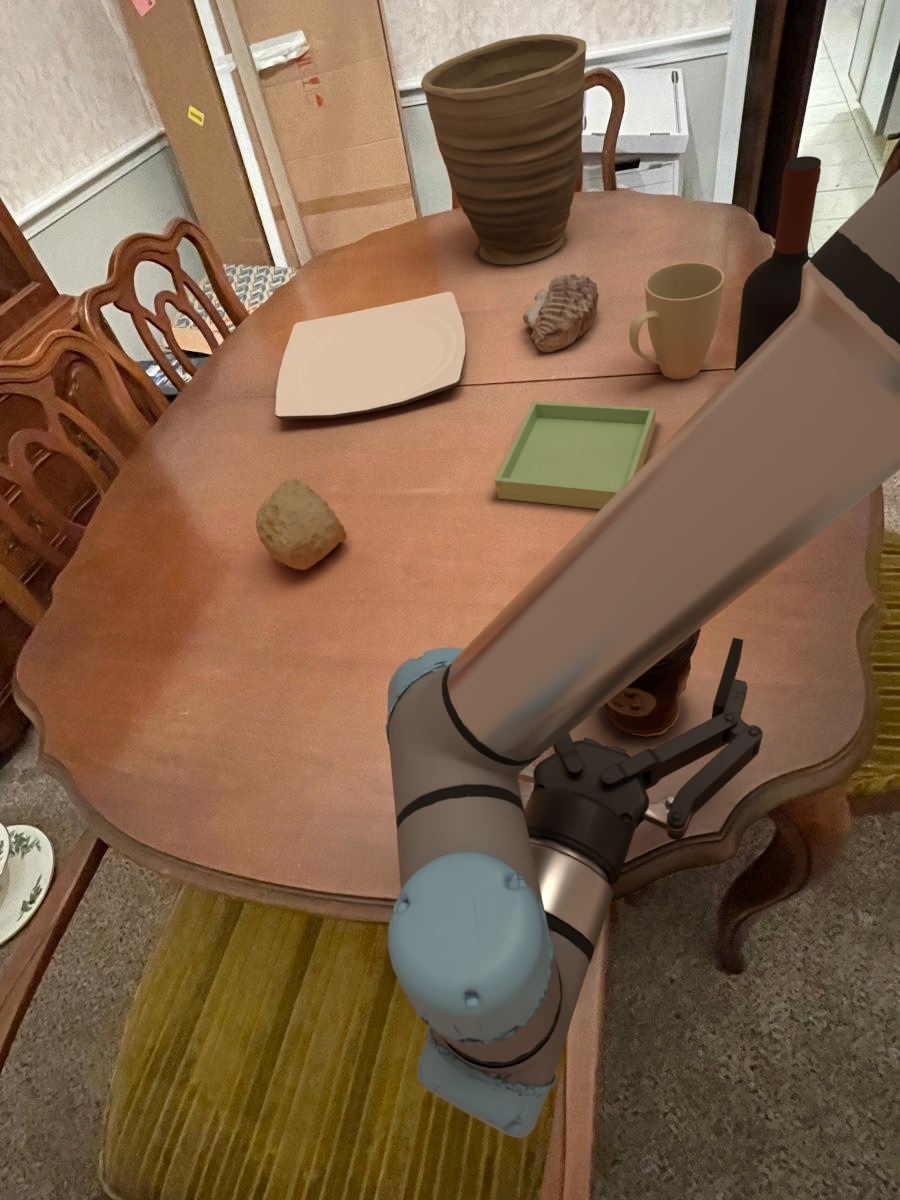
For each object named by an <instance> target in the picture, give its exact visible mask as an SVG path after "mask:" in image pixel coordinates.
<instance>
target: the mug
mask: <svg viewBox="0 0 900 1200" xmlns="http://www.w3.org/2000/svg"><path fill="white" fill-rule="evenodd" d="M724 285H725V274H724V272H723V271H722V270H721V269H720V268H719V267H717V266H715V265H713V264H710V263H706V262H701V261H682V262H676V263H671V264H668V265H665V266H662V267H660V268H658V269H656V270H654V271H653V272H651V273H650V274H649V276H648V277H647V278H646V280H645V283H644V293H645V303H646V304H645V306H646V307H645V308H646V311H643V312H640V313H638V314H636V316H634V318H633V319H632V321H631V324H630V327H629V337H628V338H629V344H630V347H631V349H632V351H633V352H634V353H635V354H636V355H637V356H638V357H640V358H642V359H644V360H645V361H647V362H650V363H652V364H656V365H659V368H660V371H661V374H662V375H663V376H664V377H666V378H668V379H671V380H686V379H690V378H693V377H695V376H696V375H697V374H699V372H700V370H701V369H702V366H703V363H704V362H705V359H706V357H707V354H708V352H709V349H710V347H711V345H712V342H713V340H714V337H715V334H716V331H717V327H718V323H719V317H720V310H721V303H722V298H723V291H724ZM646 321H647V329H648V335H649V340H650V342H651V343H650V344H651V346H652V349H653V352H654V354H655V357H656V358H655V357H651V356H649V355H648V354H645V353H644V352H642V350H641V349H640V345H639V337H640V336H639V335H640V331H641V328H642V326H643V324H644V323H645V322H646Z"/></svg>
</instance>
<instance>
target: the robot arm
mask: <svg viewBox="0 0 900 1200" xmlns="http://www.w3.org/2000/svg"><path fill="white" fill-rule="evenodd" d="M810 257H811V258H810V259H809V260H808V262H807V263H806V264H805V265H804V266H803V271H802V284H801V296H800V301H799V304H798V306H797V309H796V310H795V311H794V312H793V313H792V314H791V315H790V316H789V318H788V319H787V320H786V321H785V322H784V323H783V324H782V325H781V326H780V327H779V328H778V329H777V330H776V331H775V332H774V333H773V334H772V335H771V336H770V337H769V338H768V339H767V340H766V341H765V342H764V343H763V344H762V345H761V346H760V347H759V348H758V349H757V350H756V351H755V352H754V353H753V354H752V355H751V356H750V357H749V358H748V359H747V360H746V361H745V363H744V364H743V365H742V366H741V367H740V368H739V369H738V370H737V371H736V372H735V371H734V373H732V374H731V376H730V377H728V379H726V381H725V382H724V383H722V385H721V386H720V387H719V388H718V389H717V390H716V391H715V392H714V393H713V394H712V395H711V396H710V397H709V398H708V399H707V400H706V401H705V402H704V403H702V406H700V407H699V408H698V410H696V411H695V412H694V414H692V415H691V416H690V417H689V418H688V420H687V421H685V423H684V424H682V425H681V427H680V428H679V429H678V430H677V431H676V432H675V433H674V434H673V435H672V436H671V437H670V438H669V439H668V440H667V441H666V442H665V443H664V444H663V445H662V446H661V447H660V448H659V449H658V450H657V452H655V453H654V455H653V456H651V457H650V459H648V460H647V461H646V463H644V464H643V467H642V468H641V469H640V470H639V471H638V472H637V473H636V474H635V475H634V476H633V477H632V478H631V479H630V480H629V481H628V482H627V483H626V484H625V485H624V486H623V487H622V488H621V489H620V490H619V491H618V492H617V493H616V494H615V495H614V496H613V498H612V499H611V500H610V501H609V502H608V503H607V504H606V505H605V506H604V507H603V508H602V509H599V510H598V512H597V513H596V514H595V515H593V517H592V518H591V519H590V520H589V521H588V522H587V523H586V524H585V525H584V526H583V527H582V528H581V529H580V530H579V531H578V532H577V533H576V534H575V535H574V536H573V537H572V538H571V539H570V540H569V541H568V542H567V543H566V545H564V546H563V547H562V549H561V550H560V551H558V553H557V554H556V555H555V556H554V557H553V558H552V559H551V560H549V561H548V563H547V564H546V565H545V566H544V567H543V568H542V569H541V570H540V571H539V572H538V573H537V574H536V575H535V576H534V577H533V578H532V579H531V580H530V581H529V582H528V583H527V584H526V585H525V586H524V587H523V588H522V589H521V591H519V593H517V595H516V596H515V597H513V599H511V601H510V602H509V603H507V605H506V606H504V608H503V609H502V610H500V612H499V613H498V614H497V615H496V616H495V617H494V618H493V619H492V620H491V621H490V622H489V623H488V624H487V625H486V626H485V627H484V628H483V629H482V630H481V631H480V632H479V633H478V634H477V635H476V636H475V637H474V639H473V640H472V641H471V642H470V643H468V645H467V646H465V648H461V647H451V646H449V647H438V648H432V649H428V650H425V651H424V653H423V655H422V656H420V657H417V658H408V659H407V660H405V661H404V662H403V663H402V664H401V665H399V666H398V667H397V669H396V670H395V671H394V673H393V675H392V676H391V678H390V681H389V683H388V688H387V714H386V718H387V719H386V724H385V732H386V733H385V735H386V740H387V743H388V747H389V757H390V769H391V770H390V771H391V779H392V791H393V801H394V802H393V803H394V812H395V813H394V814H395V823H396V824H395V825H396V841H397V844H396V845H397V854H398V855H397V857H398V868H399V869H398V871H399V884H400V892H399V895H398V897H397V899H396V901H395V902H394V905H393V908H392V912H391V914H390V916H389V921H388V931H387V948H388V955H389V958H390V963H391V966H392V969H393V972H394V974H395V977H396V978H397V980H398V983H399V986H400V988H401V990H402V991H403V992H404V993H405V994H406V999H407V1000H406V1001H407V1003H408V1004H409V1005H410V1006H411V1007H412V1008H414V1010H415V1012H416V1014H417V1016H418V1017H419V1018H420V1019H421V1020H422V1022H423V1023H424V1024H426V1025H427V1026H428V1028H427V1029H426V1036H425V1041H424V1045H423V1047H422V1050H421V1052H420V1053H421V1054H420V1057H419V1060H418V1063H417V1067H416V1068H417V1069H416V1073H417V1078H418V1081H419V1083H420V1084H421V1085H422V1086H423V1087H424V1088H425V1089H426V1090H427V1091H429V1092H430V1093H432V1094H433V1095H434V1096H436V1097H438V1098H440V1099H441V1100H443V1101H444V1102H446V1103H448V1104H450V1105H452V1106H453V1107H455V1108H456V1109H458V1110H459V1111H462V1112H463V1113H465V1114H466V1115H469V1116H470V1117H472V1118H475V1119H476V1120H478V1121H480V1122H482V1123H483V1124H486V1125H487V1126H489V1127H491V1128H493V1129H495V1130H496V1131H499V1132H500V1133H503V1134H504V1135H507V1136H509V1137H513V1138H516V1139H517V1138H518V1139H521V1138H524V1137H527V1136H528V1135H529V1134H531V1133H532V1132H533V1130H534V1129H535V1128H536V1125H537V1123H538V1120H539V1118H540V1115H541V1112H542V1109H543V1107H544V1104H545V1101H546V1099H547V1097H548V1094H549V1092H550V1091H551V1090H552V1089H554V1086H555V1082H556V1079H557V1076H556V1071H557V1067H558V1064H559V1061H560V1058H561V1055H562V1051H563V1048H564V1046H565V1043H566V1039H567V1036H568V1033H569V1029H570V1026H571V1023H572V1020H573V1017H574V1013H575V1010H576V1008H577V1004H578V1001H579V998H580V995H581V991H582V988H583V986H584V981H585V978H586V976H587V972H588V970H589V965H590V964H591V962H592V959H593V956H594V953H595V950H596V947H597V944H598V941H599V938H600V936H601V933H602V930H603V926H604V923H605V921H606V918H607V915H608V912H609V909H610V906H611V903H612V900H613V896H614V891H613V889H612V886H613V885H615V884H617V883H618V882H619V880H620V877H621V874H622V870H623V868H624V865H625V863H626V862H625V861H626V859H627V857H628V852H629V850H630V846H631V844H632V840H633V838H634V835H635V832H636V830H637V829H638V827H639V826H640V825H641V824H642V823H644V822H645V821H646V822H648V823H651V824H653V825H655V826H657V827H659V828H662V829H664V830H666V834H667V836H668V838H669V839H671V840H673V841H680V840H681V839H683V838H684V837H685V835H686V832H687V830H688V828H689V825H690V823H691V821H692V819H693V816H695V814H697V812H698V811H699V810H700V809H702V808H703V806H705V805H706V804H707V803H708V802H709V801H710V800H711V799H712V798H713V797H714V796H715V795H716V794H717V793H718V792H719V791H721V790H722V789H723V788H724V787H725V786H726V785H727V784H728V783H729V782H730V781H731V780H732V779H733V778H734V777H735V776H736V775H738V774H739V773H740V772H741V771H742V770H743V769H744V768H745V767H746V766H747V765H748V764H749V763H750V762H751V761H752V760H753V759H755V757H757V756H758V755H759V753H760V749H761V744H762V740H763V734H764V731H763V730H762V729H761V728H760V726H758V725H755V724H750V725H749V724H747V723H746V722H745V721H743V719H742V713H743V709H744V705H745V702H746V699H747V693H748V685H747V682H746V681H745V680H740V679H736V676H737V673H738V669H739V666H740V663H741V657H742V651H743V644H744V639H743V638H737V637H732V641H731V644H730V647H729V651H728V654H727V657H726V660H725V664H724V668H723V670H722V674H721V677H720V681H719V684H718V687H717V691H716V694H715V697H714V701H713V704H712V710H711V711H712V713H711V718H710V719H708V720H706V721H704V722H702V723H700V724H698V725H696V726H695V727H692V728H691V729H689V730H687V731H685V732H683V733H681V734H679V735H677V736H675V737H673V738H672V739H669V740H668V741H666V742H664V743H662V744H660V745H658V746H656V747H654V748H652V749H651V748H646V749H644V750H642V751H640V752H638V753H636V754H634V755H632V756H631V755H630V754H628V753H627V751H626V749H625V748H621V747H619V746H612V745H604V744H602V743H600V742H598V741H597V740H595V739H593V738H592V739H591V738H589V737H584V738H583V739H579V740H575V741H574V740H573V739H572V736H571V733H570V732H571V731H573V730H574V729H575V728H576V727H578V726H579V725H581V724H582V723H583V722H584V721H585V720H587V719H588V718H589V717H590V716H592V715H593V714H594V713H595V712H597V711H598V710H599V709H600V708H602V707H603V706H605V703H607V702H608V701H609V700H610V699H612V698H613V697H614V696H615V695H617V694H618V693H619V692H620V691H622V690H623V689H624V688H626V687H627V686H628V685H629V684H631V683H632V682H633V681H634V680H636V679H637V678H638V677H639V676H641V675H642V674H643V673H644V672H646V671H647V670H648V669H649V668H651V667H652V666H653V665H654V664H656V663H657V662H658V661H660V660H661V659H662V658H663V657H665V656H666V655H667V654H668V653H670V652H671V651H672V650H673V649H675V648H676V647H677V646H678V645H680V644H681V643H682V642H683V641H685V640H686V639H687V638H688V637H690V636H691V635H692V634H694V633H695V632H696V631H697V630H699V629H700V628H701V629H702V627H704V626H705V625H706V624H707V623H709V622H710V621H711V620H712V619H714V618H715V617H716V616H717V615H719V614H720V613H721V612H723V611H724V610H725V609H727V608H728V607H729V606H730V605H731V604H733V603H734V602H735V601H736V600H738V599H739V598H740V597H741V596H743V595H744V594H746V592H748V591H749V590H750V589H752V588H754V586H755V585H757V584H758V583H759V582H760V581H762V580H763V579H764V578H766V577H767V576H768V575H769V574H771V572H773V571H774V570H776V569H777V568H778V567H780V565H782V564H783V563H784V562H785V561H787V560H788V559H789V558H791V557H792V556H793V555H794V554H796V553H797V552H798V551H799V550H801V549H802V548H803V547H805V546H806V545H807V544H808V543H809V542H811V541H812V540H813V539H814V538H815V537H817V536H818V535H820V534H821V533H822V532H823V531H824V530H826V529H827V528H829V526H831V525H832V524H833V523H835V522H836V521H837V520H839V518H841V517H843V515H845V514H846V513H848V511H850V510H851V509H852V508H854V507H855V506H856V505H857V504H859V503H860V502H861V501H862V500H863V499H865V498H866V497H868V496H869V495H870V494H872V492H874V491H875V490H876V489H877V488H879V486H881V485H883V484H884V483H885V482H886V481H887V480H889V479H890V478H891V477H893V476H894V475H895V474H896V473H898V472H899V471H900V168H899V169H898V170H897V171H896V172H895V173H894V174H893V175H892V176H891V177H889V179H888V180H887V181H886V182H884V183H883V184H882V185H881V186H880V187H879V188H878V189H877V190H876V191H875V192H874V193H873V194H872V195H871V196H870V197H869V198H868V199H867V200H866V201H865V202H864V203H863V204H862V205H861V206H860V207H859V208H858V209H857V210H856V211H855V212H854V213H853V214H852V215H851V216H850V217H848V219H847V220H846V221H845V222H843V224H842V225H840V226H839V227H838V228H837V230H835V232H834V233H833V234H832V235H831V236H830V237H829V238H828V239H827V240H826V241H825V242H824V243H823V244H822V246H820V248H818V249H817V251H816V252H815V253H814V254H813V255H812V256H810ZM551 747H552V749H553V751H554V753H552V754H550V755H549V756H548V757H546V758H544V759H542V760H541V761H539V762H538V763H537V764H534V762H535V761H536V760H537V759H539V758H540V757H541V756H542V755H543V754H544V753H545V752H546V751H548V750H549V749H550V748H551ZM721 748H722V749H721ZM719 749H721V750H720V751H719V752H718V753H717V754H715V755H714V756H713V758H711V759H710V760H709V761H708V762H707V763H706V764H705V765H704V766H703V767H701V768H700V769H699V770H698V771H697V772H696V773H694V775H692V777H691V778H690V779H688V781H686V783H684V784H683V785H682V787H681V788H680V789H679V790H678V791H677V793H676V795H675V796H673V795H667V796H665V797H663V799H662V800H660V802H657V803H655V802H654V803H653V802H650V798H649V795H648V792H647V790H649V789H650V788H653V787H655V786H656V785H657V784H658V783H659V782H660V781H661V780H662V779H664V778H666V777H668V776H669V775H671V774H673V773H676V772H677V771H679V770H681V769H682V768H684V767H687V766H688V765H690V764H692V763H694V762H696V761H698V760H700V759H702V758H704V757H705V756H707V755H709V754H712V753H713V752H715V751H717V750H719ZM519 781H523V782H528V783H532V784H533V789H532V791H531V793H530V795H529V797H528V800H527V803H526V805H525V807H524V804H523V799H522V794H521V793H522V792H521V788H520V782H519Z"/></svg>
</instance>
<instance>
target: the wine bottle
mask: <svg viewBox="0 0 900 1200" xmlns="http://www.w3.org/2000/svg"><path fill="white" fill-rule="evenodd" d="M821 167H822V160H821V159H820V158H819V157H816V156H812V155H811V156H810V155H807V156H806V155H804V156H799V157H798V156H797V157H793V158H791V159H789V160H788V161H786V162H785V164H784V170H783V174H782V182H781V186H782V188H781V189H782V190H781V195H780V196H781V197H780V204H779V213H778V219H777V229H776V235H775V244H774V249H773V251H772V254H771V256H770V257H769V258H767V259H766V260H764V261H763V262H761V263H760V264H759V265H757V266H756V267H754V269H753V270H752V272H751V273H750V274H749V275H748V276H747V278H746V280H745V281H744V284H743V288H742V292H741V293H742V294H741V302H740V303H741V304H740V313H739V324H738V334H737V344H736V352H735V364H734V373H735V372H736V371H737V370H738V369H739V368H740V367H741V366H742V365H743V364H744V363H745V361H746V360H747V359H748V358H749V357H750V356H751V355H752V354H753V353H754V352H755V351H756V350H757V349H758V348H759V347H760V346H761V345H762V344H763V343H764V342H765V341H766V340H767V339H768V338H769V337H770V336H771V335H772V334H773V333H774V332H775V331H776V330H777V329H778V328H779V327H780V326H781V325H782V324H783V323H784V322H785V321H786V320H787V319H788V318H789V316H790V315H791V314H792V313H793V312H794V311H795V310H796V309H797V306H798V304H799V301H800V296H801V284H802V271H803V266H804V265H805V264H806V263H807V262H808V260H809V259H810V258H811V257H812V256H809V242H810V236H811V230H812V229H811V228H812V222H813V216H814V210H815V204H816V197H817V192H818V191H817V190H818V186H819V183H820V177H821V173H822V169H821Z"/></svg>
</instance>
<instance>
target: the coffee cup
mask: <svg viewBox="0 0 900 1200" xmlns="http://www.w3.org/2000/svg"><path fill="white" fill-rule="evenodd" d="M701 629H702V627H701V628H700V629H699V630H697V631H696V632H695V633H694V634H692V635H691V636H690V637H688V638H687V639H686V640H685V641H683V642H682V643H681V644H680V645H678V646H677V647H676V648H675V649H673V650H672V651H671V652H670V653H668V654H667V655H666V656H665V657H663V658H662V659H661V660H660V661H658V662H657V663H656V664H654V665H653V666H652V667H651V668H649V669H648V670H647V671H646V672H644V673H643V674H642V675H641V676H639V677H638V678H637V679H636V680H634V681H633V682H632V683H631V684H629V685H628V686H627V687H626V688H624V689H623V690H622V691H620V692H619V693H618V694H617V695H615V696H614V697H613V698H612V699H610V700H609V701H608V702H607V703H605V704H604V710H605V712H606V715H607V717H608V718H609V719H610V721H611V723H612V724H613V725H614V726H615V727H617V728H618V729H619V730H621V731H624V732H625V733H628V734H631V735H635V736H641V737H651V736H661V735H665V733H666V732H667V731H668V730H669V729H670V728H672V727H674V726H675V723H676V721H677V720H678V719H679V714H680V711H681V709H680V703H679V699H678V698H679V697H680V695H681V694H682V693H683V692H684V691H686V689H687V682H688V678H689V676H690V672H691V669H692V667H691V666H692V663H691V662H692V659H691V658H692V656H693V654H694V652H695V650H696V647H697V645H698V641H699V639H700V635H701V631H702V630H701Z"/></svg>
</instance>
